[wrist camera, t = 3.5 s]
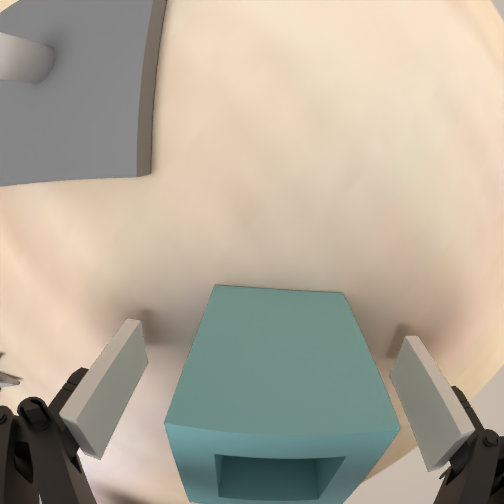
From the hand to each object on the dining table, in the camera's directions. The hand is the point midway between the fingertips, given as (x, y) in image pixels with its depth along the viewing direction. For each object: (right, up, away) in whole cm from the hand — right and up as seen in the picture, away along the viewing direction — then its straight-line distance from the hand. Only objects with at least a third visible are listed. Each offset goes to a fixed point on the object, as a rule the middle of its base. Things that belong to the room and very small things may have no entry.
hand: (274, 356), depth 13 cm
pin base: (-11, +14, -3) cm, 18 cm away
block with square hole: (0, 0, +1) cm, 1 cm away
